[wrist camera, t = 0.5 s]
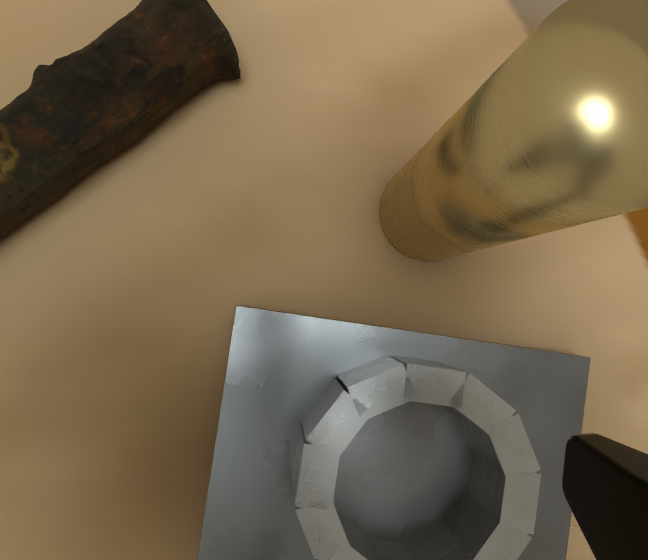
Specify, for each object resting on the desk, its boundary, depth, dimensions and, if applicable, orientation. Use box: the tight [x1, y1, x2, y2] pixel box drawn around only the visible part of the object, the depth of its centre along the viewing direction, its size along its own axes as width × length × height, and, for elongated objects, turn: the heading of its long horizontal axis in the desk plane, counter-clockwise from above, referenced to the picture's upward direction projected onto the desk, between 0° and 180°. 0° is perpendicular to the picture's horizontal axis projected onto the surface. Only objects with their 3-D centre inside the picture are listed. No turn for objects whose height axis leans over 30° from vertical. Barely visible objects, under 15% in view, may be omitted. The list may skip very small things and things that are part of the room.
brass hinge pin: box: [379, 0, 648, 261], centre depth 16 cm, size 4×4×13 cm
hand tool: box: [0, 0, 240, 237], centre depth 20 cm, size 19×4×5 cm, turn 127°
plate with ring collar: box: [197, 306, 590, 560], centre depth 20 cm, size 10×14×4 cm
